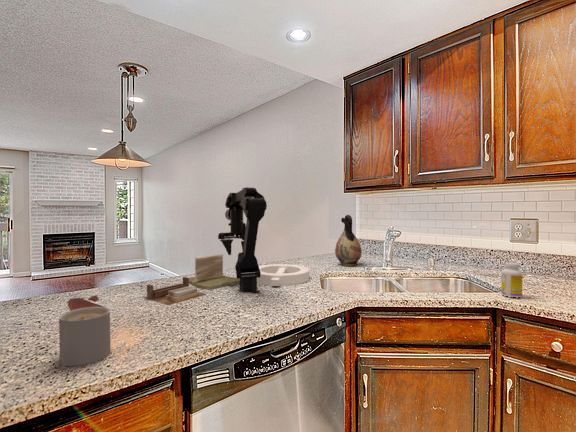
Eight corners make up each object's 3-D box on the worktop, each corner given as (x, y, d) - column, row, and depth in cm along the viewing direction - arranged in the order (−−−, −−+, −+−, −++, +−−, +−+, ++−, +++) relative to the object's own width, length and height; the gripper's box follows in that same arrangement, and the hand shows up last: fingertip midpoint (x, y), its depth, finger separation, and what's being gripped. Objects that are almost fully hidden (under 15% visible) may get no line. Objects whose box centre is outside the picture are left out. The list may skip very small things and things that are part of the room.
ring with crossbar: (274, 289, 137) (274, 278, 137) (240, 278, 159) (240, 268, 159) (321, 280, 154) (321, 270, 154) (285, 271, 176) (285, 262, 176)
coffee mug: (105, 362, 72) (104, 318, 72) (52, 369, 69) (51, 322, 69) (117, 339, 85) (116, 301, 85) (73, 344, 82) (72, 304, 82)
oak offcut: (199, 296, 122) (199, 292, 122) (176, 302, 114) (176, 298, 114) (188, 293, 126) (188, 289, 126) (166, 299, 117) (166, 295, 117)
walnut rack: (207, 296, 125) (207, 281, 125) (168, 308, 111) (168, 290, 111) (181, 290, 134) (180, 276, 134) (142, 300, 120) (142, 284, 120)
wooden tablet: (67, 302, 119) (67, 298, 119) (98, 297, 125) (98, 293, 125) (72, 323, 98) (72, 317, 98) (110, 316, 104) (110, 311, 104)
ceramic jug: (332, 262, 200) (332, 214, 199) (356, 262, 201) (356, 214, 201) (339, 268, 183) (339, 215, 182) (366, 267, 185) (366, 214, 184)
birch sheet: (222, 276, 148) (222, 254, 148) (197, 281, 137) (197, 258, 137) (221, 275, 149) (221, 254, 149) (195, 281, 138) (195, 258, 138)
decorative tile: (213, 279, 157) (213, 272, 157) (242, 285, 145) (242, 277, 145) (179, 287, 142) (179, 279, 142) (209, 294, 130) (208, 285, 130)
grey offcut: (197, 292, 122) (197, 288, 122) (177, 297, 115) (177, 293, 115) (188, 290, 125) (188, 286, 125) (168, 295, 118) (168, 291, 118)
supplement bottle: (525, 297, 125) (526, 263, 124) (516, 299, 121) (517, 265, 121) (506, 293, 130) (507, 261, 130) (497, 295, 127) (498, 262, 127)
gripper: (264, 220, 146) (264, 255, 147) (234, 220, 157) (234, 252, 157) (247, 221, 137) (248, 258, 137) (217, 220, 148) (217, 255, 148)
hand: (237, 255), depth 145 cm, fingers open, 9 cm apart
